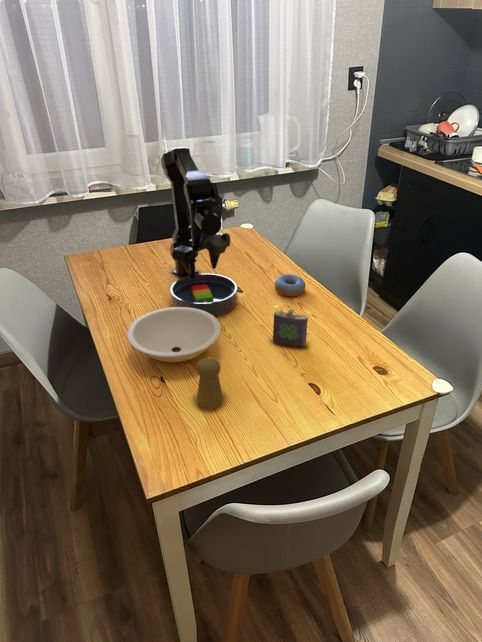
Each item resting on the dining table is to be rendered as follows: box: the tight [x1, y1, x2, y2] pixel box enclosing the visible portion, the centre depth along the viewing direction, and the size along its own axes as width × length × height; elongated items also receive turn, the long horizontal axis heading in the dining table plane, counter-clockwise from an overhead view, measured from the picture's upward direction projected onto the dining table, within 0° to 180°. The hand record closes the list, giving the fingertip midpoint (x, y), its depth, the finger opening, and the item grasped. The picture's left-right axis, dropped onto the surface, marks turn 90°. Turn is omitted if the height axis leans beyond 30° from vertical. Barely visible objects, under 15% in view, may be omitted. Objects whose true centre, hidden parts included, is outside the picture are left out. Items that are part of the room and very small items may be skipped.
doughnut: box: [274, 273, 306, 297], centre depth 160 cm, size 10×10×5 cm
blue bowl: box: [169, 273, 238, 318], centre depth 153 cm, size 20×20×5 cm
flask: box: [272, 308, 309, 349], centre depth 132 cm, size 9×3×11 cm, turn 74°
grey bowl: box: [126, 306, 222, 363], centre depth 130 cm, size 24×24×7 cm
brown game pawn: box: [196, 357, 224, 410], centre depth 112 cm, size 6×6×11 cm
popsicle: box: [191, 285, 214, 303], centre depth 153 cm, size 6×15×2 cm, turn 17°
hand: (203, 273), depth 149 cm, fingers open, 9 cm apart
